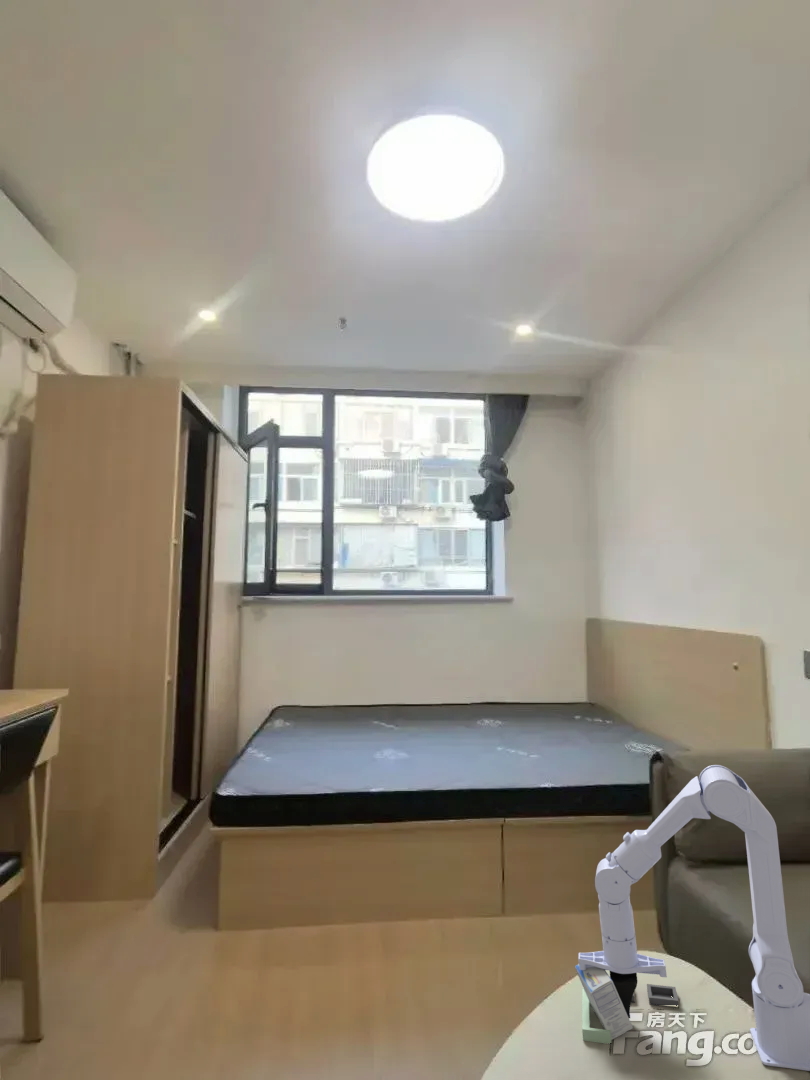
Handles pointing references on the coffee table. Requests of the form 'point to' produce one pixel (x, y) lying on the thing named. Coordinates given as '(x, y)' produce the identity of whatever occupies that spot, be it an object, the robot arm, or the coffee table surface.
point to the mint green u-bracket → (588, 1032)
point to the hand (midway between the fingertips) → (626, 1014)
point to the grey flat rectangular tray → (662, 995)
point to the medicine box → (604, 1000)
